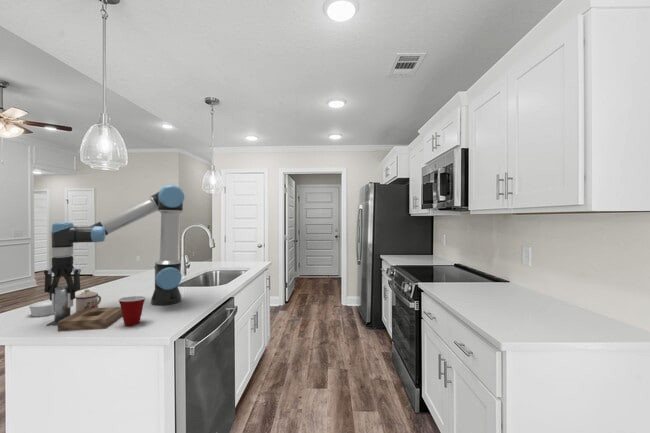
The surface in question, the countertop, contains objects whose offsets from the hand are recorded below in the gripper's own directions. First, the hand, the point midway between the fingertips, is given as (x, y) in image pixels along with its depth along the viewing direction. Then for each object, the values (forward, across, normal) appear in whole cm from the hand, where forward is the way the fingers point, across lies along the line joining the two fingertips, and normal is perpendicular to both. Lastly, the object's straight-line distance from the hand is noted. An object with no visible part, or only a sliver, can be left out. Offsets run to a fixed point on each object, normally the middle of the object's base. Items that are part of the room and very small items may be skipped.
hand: (62, 306), depth 140 cm
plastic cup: (+7, -32, +8) cm, 34 cm away
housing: (+7, -14, +3) cm, 16 cm away
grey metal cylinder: (+6, 0, 0) cm, 6 cm away
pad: (+7, 0, 0) cm, 7 cm away
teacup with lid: (+7, -4, -14) cm, 16 cm away
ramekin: (+7, +16, -15) cm, 23 cm away
